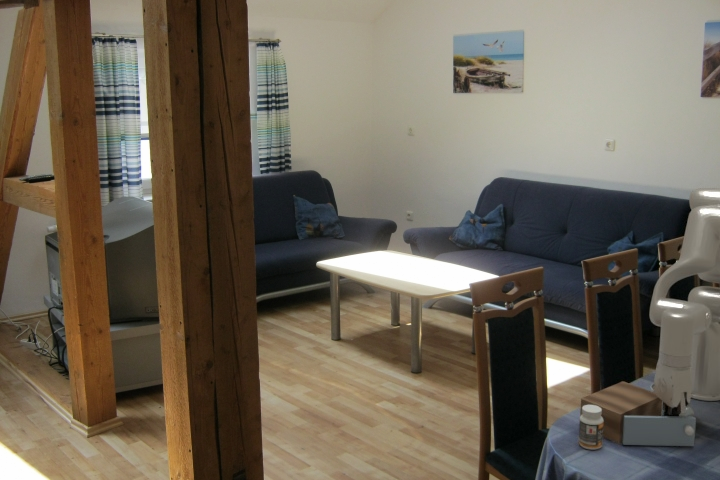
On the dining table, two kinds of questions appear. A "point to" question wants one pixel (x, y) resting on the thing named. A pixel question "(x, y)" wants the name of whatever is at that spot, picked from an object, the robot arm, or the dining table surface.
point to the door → (659, 430)
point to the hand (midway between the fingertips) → (670, 426)
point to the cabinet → (622, 406)
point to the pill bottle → (591, 427)
